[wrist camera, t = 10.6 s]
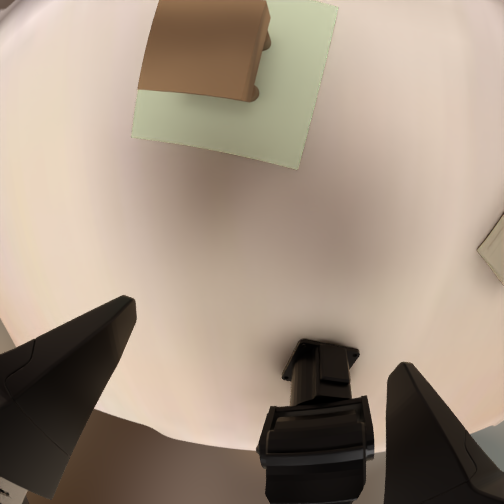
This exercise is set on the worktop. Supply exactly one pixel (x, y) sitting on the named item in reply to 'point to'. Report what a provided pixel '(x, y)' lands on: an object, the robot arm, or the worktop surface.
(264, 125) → the sage mat
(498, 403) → the worktop surface
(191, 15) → the toy stool
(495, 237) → the supplement box
